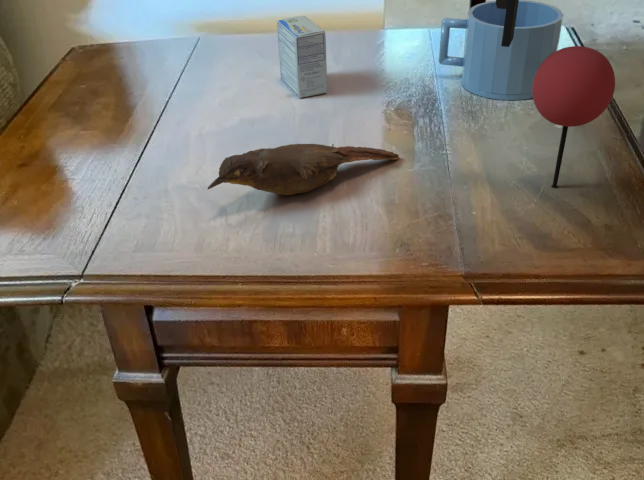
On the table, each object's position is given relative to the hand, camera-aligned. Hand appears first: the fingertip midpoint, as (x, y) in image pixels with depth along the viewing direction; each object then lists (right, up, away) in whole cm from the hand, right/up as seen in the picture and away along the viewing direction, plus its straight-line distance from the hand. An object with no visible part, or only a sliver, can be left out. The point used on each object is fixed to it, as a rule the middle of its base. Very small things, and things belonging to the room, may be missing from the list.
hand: (577, 49), depth 75 cm
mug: (0, +7, +33) cm, 34 cm away
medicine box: (-27, +7, +35) cm, 44 cm away
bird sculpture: (-26, -11, +12) cm, 31 cm away
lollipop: (+1, -12, +9) cm, 15 cm away
